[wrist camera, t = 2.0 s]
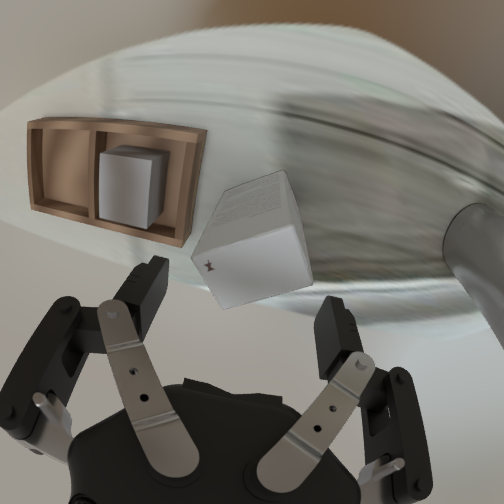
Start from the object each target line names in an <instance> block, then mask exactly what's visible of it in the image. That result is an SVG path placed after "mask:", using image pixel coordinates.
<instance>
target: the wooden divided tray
mask: <svg viewBox="0 0 504 504" xmlns="http://www.w3.org/2000/svg"><path fill="white" fill-rule="evenodd" d="M206 133H207V130H203V129H197V128H190V127H184V126H177V125H169V124H162V123H153V122H144V121H134V120H121V119H106V118H82V117H46V118H41V119H37V120H33V121H29V122H27V169H28V185H29V196H30V205H31V209H32V210H36V211H39V212H43V213H47V214H51V215H54V216H58V217H62V218H66V219H69V220H73V221H77V222H81V223H85V224H89V225H92V226H96V227H100V228H104V229H108V230H112V231H116V232H120V233H124V234H128V235H132V236H136V237H140V238H144V239H148V240H152V241H156V242H160V243H164V244H168V245H172V246H176V247H180V248H182V247H183V245H184V244H185V242H186V240H187V239H188V237H189V235H190V234H191V227H192V219H193V212H194V205H195V198H196V192H197V185H198V179H199V173H200V167H201V161H202V155H203V150H204V144H205V139H206Z"/></svg>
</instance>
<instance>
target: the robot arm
mask: <svg viewBox="0 0 504 504" xmlns="http://www.w3.org/2000/svg"><path fill="white" fill-rule="evenodd" d="M443 255H444V260H445V262H446V264H447V266H448V267H449V268H450V269H451V271H452V272H453V273H454V275H455V276H456V277H457V279H458V280H459V281H460V283H461V284H462V286H463V287H464V288H465V290H466V291H467V293H468V294H469V295H470V297H471V298H472V300H473V301H474V303H475V304H476V306H477V307H478V308H479V310H480V311H481V313H482V315H483V316H484V318H485V319H486V321H487V322H488V324H489V325H490V327H491V329H492V330H493V332H494V334H495V335H496V337H497V339H498V340H499V342H500V344H501V346H502V347H503V349H504V218H503V217H502V216H501V215H499V214H498V213H497V212H495V211H494V210H492V209H491V208H490V207H488V206H487V205H484V204H473V205H470V206H468V207H467V208H465V209H463V210H462V211H461V212H460V213H459V214H458V215H457V216H456V218H455V219H454V220H453V221H452V223H451V225H450V227H449V229H448V231H447V233H446V236H445V240H444V244H443ZM168 272H169V259H167V258H163V257H159V256H155V255H154V256H153V257H152V259H151V260H150V262H149V263H148V264H146V263H141V264H139V265H137V266H136V267H134V269H133V270H132V272H131V273H130V275H129V276H128V277H127V279H126V281H125V282H124V283H123V284H122V286H121V287H120V289H119V290H118V292H117V293H116V295H115V296H114V298H113V299H112V300H107V301H104V302H102V303H101V304H100V305H99V307H81V306H80V302H79V301H78V300H77V299H76V298H74V297H71V296H65V297H61V298H59V299H57V300H56V301H55V302H54V304H53V305H52V306H51V308H50V309H49V311H48V312H47V314H46V315H45V316H44V318H43V320H42V321H41V323H40V324H39V325H38V327H37V329H36V330H35V332H34V333H33V335H32V336H31V338H30V340H29V341H28V343H27V344H26V346H25V348H24V350H23V351H22V353H21V354H20V356H19V358H18V360H17V362H16V363H15V365H14V367H13V368H12V370H11V372H10V374H9V376H8V378H7V380H6V382H5V384H4V386H3V388H2V390H1V391H0V427H2V428H3V429H4V430H5V431H6V432H7V433H8V434H9V435H10V436H11V437H12V438H14V439H15V440H16V441H17V442H19V443H20V444H21V445H23V446H24V447H26V448H28V449H29V450H31V451H32V452H34V453H36V454H39V455H43V454H45V455H47V456H49V457H51V458H53V459H55V460H57V461H59V462H61V463H63V464H65V465H67V466H69V470H70V476H71V497H70V500H69V503H68V504H412V503H415V502H417V501H421V500H423V499H425V498H427V497H428V496H429V495H430V493H431V491H432V488H433V480H432V471H431V464H430V457H429V452H428V446H427V440H426V435H425V430H424V425H423V420H422V416H421V411H420V407H419V403H418V399H417V395H416V391H415V387H414V383H413V380H412V377H411V375H410V373H409V372H408V371H407V370H405V369H404V368H401V367H394V368H392V369H391V370H390V371H389V372H387V371H384V370H382V369H379V368H377V367H375V363H374V361H373V359H372V358H371V357H370V356H369V355H367V354H365V353H364V351H363V347H362V343H361V340H360V336H359V333H358V329H357V326H356V322H355V318H354V316H353V315H352V313H351V312H350V311H349V309H345V307H344V303H343V300H342V298H338V297H333V296H327V297H326V298H325V300H324V302H323V304H322V306H321V308H320V310H319V312H318V314H317V316H316V318H315V321H314V334H315V342H316V350H317V359H318V368H319V377H320V379H323V380H328V385H327V386H326V387H325V388H324V390H323V391H322V392H321V393H320V395H319V396H318V397H317V398H316V399H315V401H314V402H313V403H312V404H311V405H310V407H309V408H308V409H307V410H306V411H305V412H304V413H303V414H302V415H301V414H300V413H298V412H297V411H296V410H294V409H293V408H291V407H289V406H287V405H285V404H283V403H282V396H275V395H267V394H261V393H255V394H231V393H229V392H226V391H224V390H222V389H220V388H217V387H215V386H213V385H211V384H208V383H204V382H199V381H195V380H191V379H187V378H184V382H183V384H175V385H168V386H164V387H162V385H161V383H160V381H159V378H158V376H157V374H156V372H155V370H154V367H153V365H152V363H151V360H150V358H149V356H148V353H147V351H146V348H145V346H144V344H143V341H144V339H145V336H146V334H147V332H148V330H149V328H150V325H151V323H152V321H153V319H154V317H155V314H156V313H157V311H158V308H159V306H160V304H161V302H162V300H163V298H164V296H165V294H166V290H167V286H168ZM89 353H100V354H107V356H108V359H109V363H110V366H111V369H112V372H113V376H114V379H115V382H116V385H117V388H118V390H119V394H120V396H121V399H122V402H123V405H124V407H125V408H124V409H122V410H120V411H119V412H117V413H115V414H113V415H112V416H110V417H108V418H106V419H104V420H103V421H101V422H99V423H97V424H95V425H93V426H92V427H90V428H88V429H86V430H84V431H82V432H80V433H79V434H78V435H77V436H76V437H75V438H73V437H72V434H71V425H72V419H71V416H70V414H69V412H68V411H67V409H66V406H67V403H68V401H69V398H70V396H71V393H72V391H73V388H74V386H75V384H76V381H77V379H78V377H79V375H80V373H81V370H82V368H83V366H84V364H85V361H86V359H87V357H88V355H89ZM356 406H358V407H361V415H362V425H363V437H364V450H365V466H364V467H363V468H362V469H361V471H360V473H359V478H358V479H357V480H356V479H355V478H354V477H353V476H352V474H351V473H350V472H349V471H348V470H347V469H346V468H345V466H344V465H343V464H342V463H341V462H340V461H339V460H338V459H337V457H336V456H335V455H334V454H333V453H332V451H331V450H330V449H329V448H328V447H329V446H330V444H331V443H332V442H333V440H334V439H335V437H336V436H337V434H338V433H339V432H340V430H341V429H342V427H343V426H344V424H345V423H346V421H347V420H348V418H349V417H350V415H351V414H352V412H353V411H354V409H355V408H356ZM388 408H389V410H388ZM389 413H390V416H389Z"/></svg>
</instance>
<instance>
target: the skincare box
mask: <svg viewBox="0 0 504 504" xmlns="http://www.w3.org/2000/svg"><path fill="white" fill-rule="evenodd" d="M191 259H192V261H193V263H194V264H195V266H196V267H197V269H198V271H199V272H200V274H201V276H202V277H203V279H204V280H205V282H206V284H207V285H208V287H209V289H210V290H211V292H212V294H213V296H214V297H215V299H216V300H217V302H218V303H219V305H220V306H221V308H222V309H228V308H232V307H235V306H239V305H243V304H247V303H251V302H255V301H258V300H262V299H266V298H269V297H273V296H276V295H280V294H283V293H287V292H290V291H294V290H297V289H301V288H304V287H308V286H312V285H313V276H312V271H311V266H310V261H309V256H308V251H307V246H306V241H305V236H304V232H303V227H302V222H301V217H300V213H299V209H298V206H297V203H296V200H295V197H294V194H293V191H292V188H291V186H290V183H289V180H288V177H287V175H286V172H285V171H284V170H282V171H279V172H276V173H273V174H270V175H267V176H264V177H262V178H259V179H256V180H253V181H251V182H248V183H245V184H243V185H240V186H237V187H235V188H232V189H230V190H227V191H225V192H224V194H223V196H222V197H221V199H220V201H219V203H218V205H217V207H216V209H215V211H214V213H213V215H212V216H211V218H210V220H209V222H208V224H207V226H206V228H205V230H204V232H203V234H202V236H201V238H200V240H199V242H198V244H197V246H196V248H195V250H194V252H193V254H192V256H191Z"/></svg>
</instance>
